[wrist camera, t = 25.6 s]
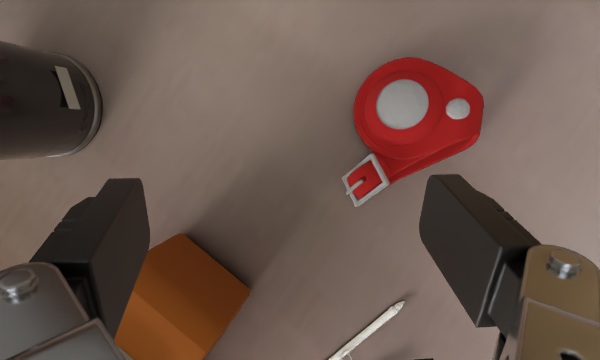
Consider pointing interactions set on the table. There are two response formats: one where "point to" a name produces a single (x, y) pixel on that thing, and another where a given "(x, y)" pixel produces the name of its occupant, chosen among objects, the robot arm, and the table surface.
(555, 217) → the table surface
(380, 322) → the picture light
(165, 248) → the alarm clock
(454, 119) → the tracker holder
